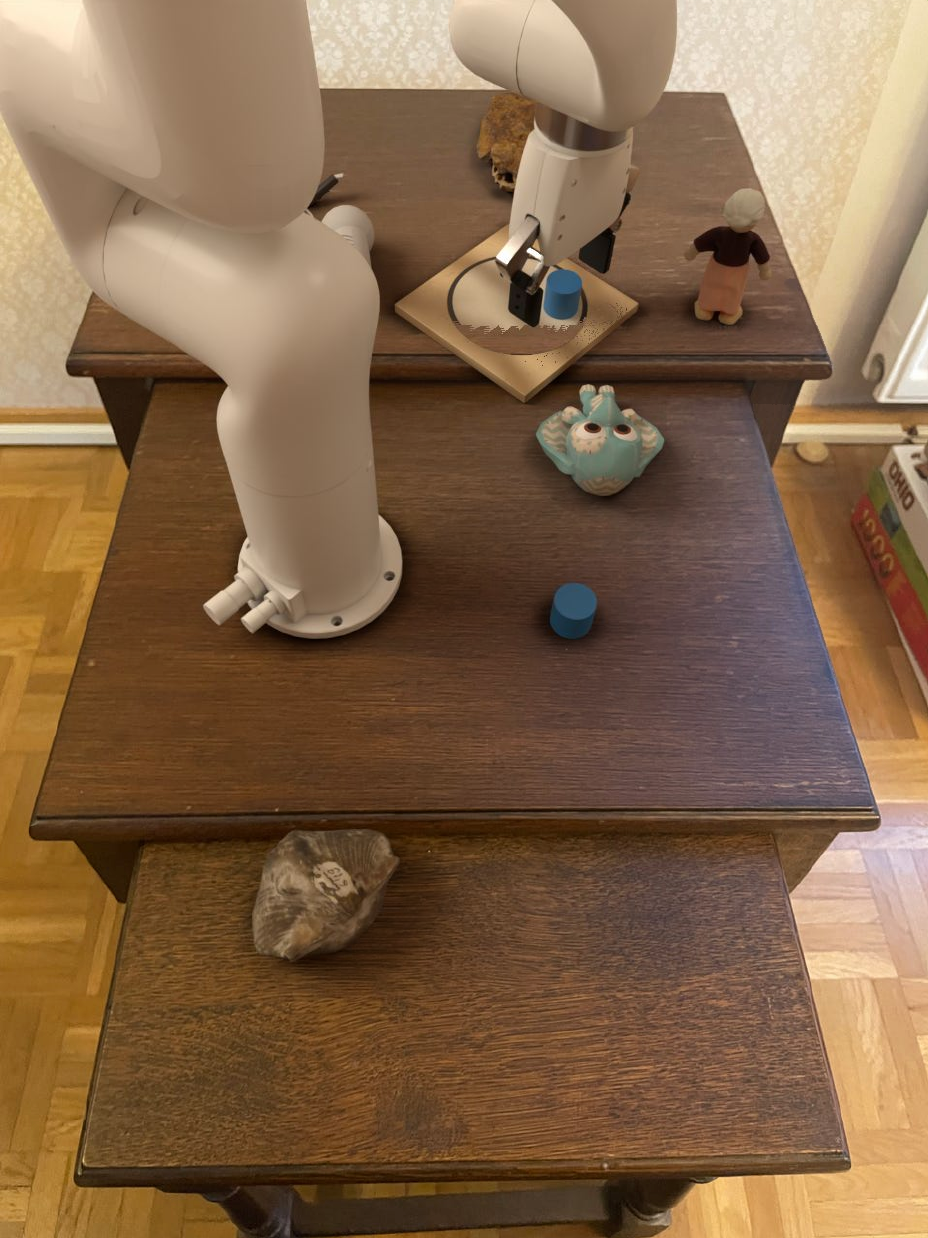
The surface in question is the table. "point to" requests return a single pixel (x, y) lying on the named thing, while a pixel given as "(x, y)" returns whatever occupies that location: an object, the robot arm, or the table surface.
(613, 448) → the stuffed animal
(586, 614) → the eye peg
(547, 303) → the eye peg
